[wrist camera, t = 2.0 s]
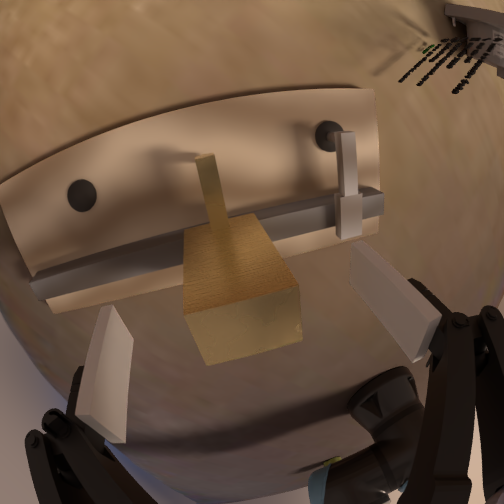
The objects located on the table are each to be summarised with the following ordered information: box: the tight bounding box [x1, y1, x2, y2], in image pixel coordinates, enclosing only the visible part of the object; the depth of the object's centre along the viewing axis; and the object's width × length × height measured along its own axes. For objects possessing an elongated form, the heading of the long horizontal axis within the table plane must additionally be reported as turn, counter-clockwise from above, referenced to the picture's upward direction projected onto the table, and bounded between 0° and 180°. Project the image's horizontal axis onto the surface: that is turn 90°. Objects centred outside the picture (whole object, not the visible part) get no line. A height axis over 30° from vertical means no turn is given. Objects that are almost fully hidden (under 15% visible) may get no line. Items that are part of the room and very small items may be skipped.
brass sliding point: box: [183, 153, 303, 366], centre depth 16 cm, size 8×5×11 cm, turn 9°
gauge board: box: [0, 88, 384, 314], centre depth 20 cm, size 14×34×4 cm, turn 99°
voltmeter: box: [398, 4, 504, 94], centre depth 14 cm, size 26×11×10 cm, turn 135°
